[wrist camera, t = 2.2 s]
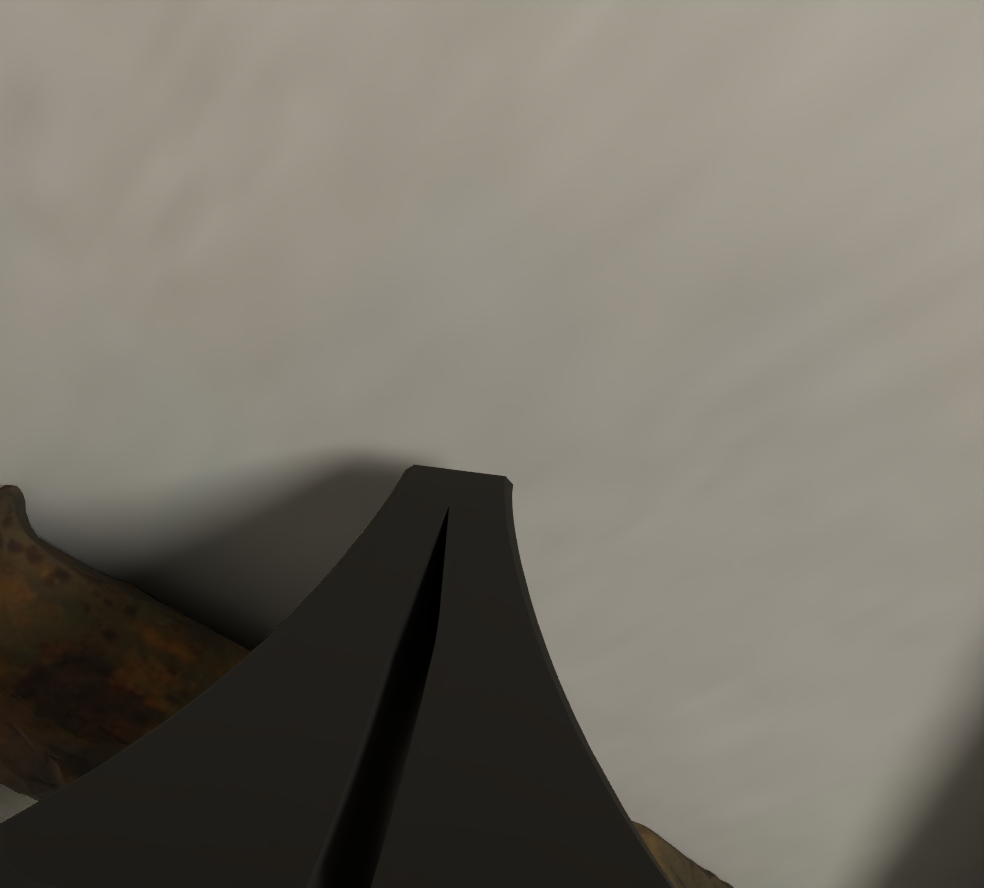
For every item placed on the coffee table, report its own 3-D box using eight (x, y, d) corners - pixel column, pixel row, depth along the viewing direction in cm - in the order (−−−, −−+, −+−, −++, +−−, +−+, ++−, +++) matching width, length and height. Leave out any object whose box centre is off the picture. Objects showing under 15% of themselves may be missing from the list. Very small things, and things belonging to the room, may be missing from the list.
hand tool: (-66, 573, 17) (-254, 805, 13) (6, 441, 15) (-196, 674, 11) (697, 961, 23) (711, 1201, 19) (829, 906, 21) (874, 1163, 17)
